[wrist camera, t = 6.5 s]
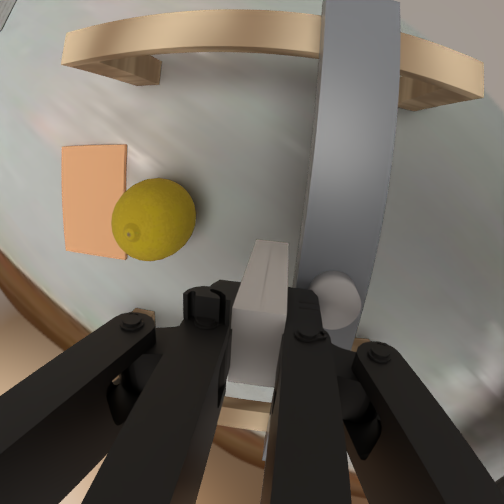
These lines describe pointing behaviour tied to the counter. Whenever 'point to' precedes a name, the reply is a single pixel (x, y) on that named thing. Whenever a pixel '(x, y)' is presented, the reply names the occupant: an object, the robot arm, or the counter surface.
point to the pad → (92, 197)
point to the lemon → (153, 219)
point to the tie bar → (349, 160)
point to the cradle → (258, 41)
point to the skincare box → (5, 10)
